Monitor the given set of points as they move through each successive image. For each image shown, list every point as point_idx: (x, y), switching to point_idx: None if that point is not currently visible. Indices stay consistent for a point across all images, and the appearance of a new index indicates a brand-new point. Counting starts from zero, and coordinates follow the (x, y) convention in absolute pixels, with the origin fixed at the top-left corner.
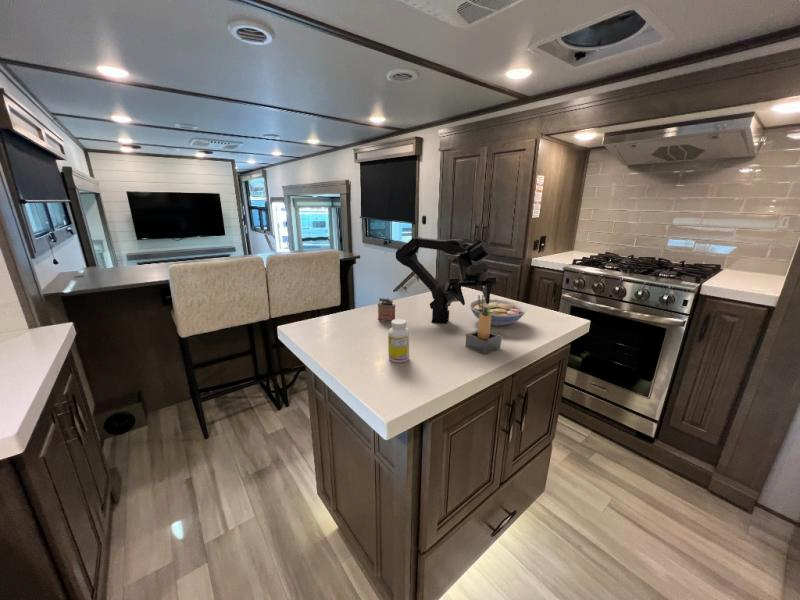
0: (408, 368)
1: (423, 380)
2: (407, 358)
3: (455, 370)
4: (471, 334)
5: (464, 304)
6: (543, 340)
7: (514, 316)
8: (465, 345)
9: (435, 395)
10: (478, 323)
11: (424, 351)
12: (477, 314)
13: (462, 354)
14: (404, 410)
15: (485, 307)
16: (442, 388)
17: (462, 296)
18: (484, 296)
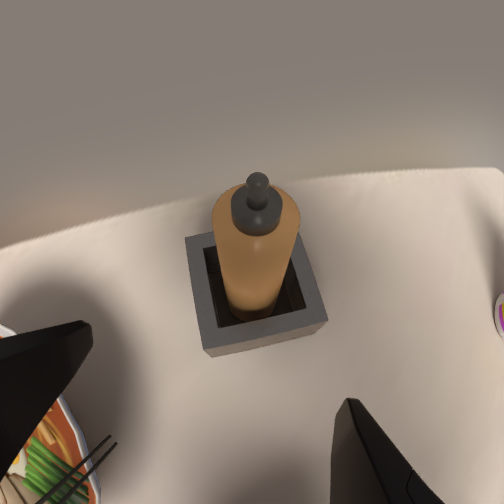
0: (494, 265)
1: (472, 212)
2: (501, 295)
3: (410, 212)
4: (303, 309)
5: (348, 400)
6: (37, 248)
7: (1, 327)
8: (314, 332)
9: (455, 170)
10: (285, 267)
11: (456, 342)
12: (100, 489)
13: (358, 279)
14: (488, 169)
15: (262, 177)
16: (445, 177)
17: (382, 459)
18: (34, 418)
